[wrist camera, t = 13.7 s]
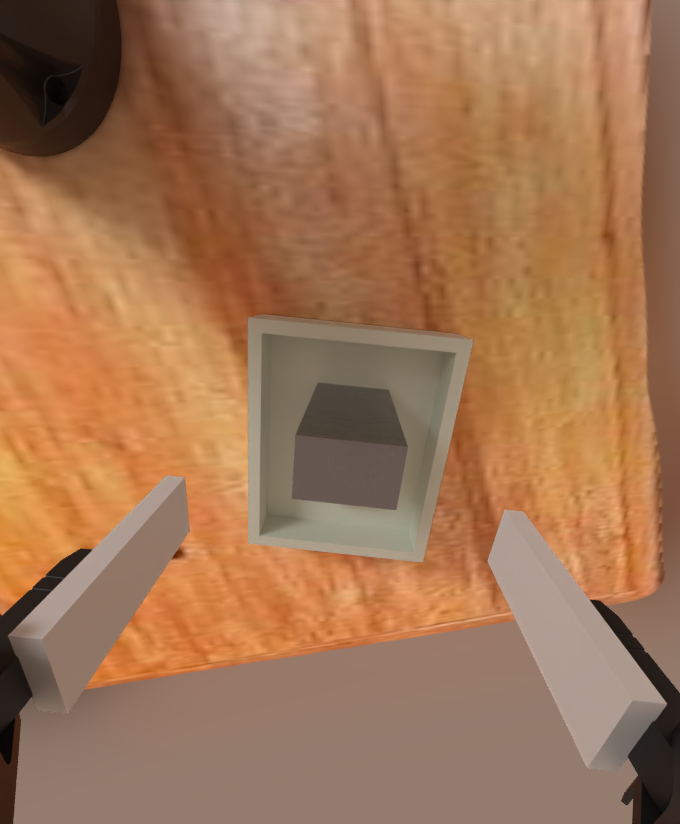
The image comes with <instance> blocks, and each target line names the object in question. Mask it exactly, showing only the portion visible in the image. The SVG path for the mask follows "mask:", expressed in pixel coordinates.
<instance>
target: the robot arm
mask: <svg viewBox="0 0 680 824" xmlns="http://www.w3.org/2000/svg"><path fill="white" fill-rule="evenodd" d="M120 60H121V34H120V23H119V15H118V9H117V4H116V0H0V148H3V149H5V150H8V151H11V152H14V153H18V154H23V155H29V156H48V155H55V154H59V153H62V152H65V151H68V150H70V149H72V148H74V147H75V146H77V145H79V144H80V143H82V142H83V141H84V140H85V139H87V138H88V137H89V136H90V135H91V134H92V133H93V132H94V131H95V129H96V128H97V127H98V126H99V124H100V123H101V121H102V120H103V118H104V116H105V115H106V113H107V111H108V109H109V107H110V104H111V102H112V99H113V96H114V93H115V90H116V85H117V81H118V76H119V70H120ZM189 531H190V528H189V517H188V506H187V495H186V483H185V477H177V476H167V475H166V476H165V477H164V478H163V479H162V480H161V481H160V482H159V483H158V484H157V485H156V486H155V487H154V488H153V489H152V490H151V491H150V492H149V493H148V494H147V495H146V497H145V498H144V499H143V500H142V501H141V502H140V503H139V504H138V505H137V506H136V507H135V508H134V509H133V510H132V511H131V512H130V513H129V514H128V515H127V516H126V517H125V518H124V519H123V520H122V521H121V522H120V523H119V524H118V525H117V526H116V527H115V528H114V529H113V530H112V531H111V532H110V533H109V534H108V535H107V536H106V537H105V538H104V539H103V540H102V541H101V542H100V543H99V544H98V545H97V546H96V547H95V548H94V549H93V550H91V549H79V550H78V551H76V552H74V553H73V554H71V555H69V556H68V557H66V558H64V559H63V560H61V561H60V562H59V563H58V564H57V565H56V566H55V567H54V568H53V569H52V570H51V571H49V572H48V573H47V574H46V577H45V578H42V579H41V580H40V581H39V582H38V583H37V584H36V585H35V586H33V589H32V590H29V591H28V592H27V593H26V594H25V595H24V596H23V597H22V598H21V599H20V600H19V601H17V602H16V603H15V604H14V605H13V606H12V607H11V608H10V609H9V610H8V611H7V612H6V613H5V614H4V615H3V616H2V617H0V824H13V817H14V804H15V792H16V779H17V766H18V752H19V740H20V727H21V719H20V715H19V712H20V711H21V710H22V708H23V707H24V706H25V704H26V703H27V702H28V701H29V699H30V698H31V697H32V698H33V701H34V703H35V706H36V709H37V710H38V711H46V712H54V713H65V714H68V712H69V711H70V709H71V708H72V706H73V705H74V703H75V702H76V700H77V699H78V697H79V696H80V694H81V693H82V691H83V690H84V688H85V687H86V685H87V684H88V682H89V681H90V679H91V678H92V676H93V675H94V673H95V672H96V670H97V669H98V667H99V666H100V665H101V663H102V662H103V660H104V659H105V657H106V656H107V654H108V653H109V651H110V650H111V648H112V647H113V645H114V644H115V642H116V641H117V639H118V638H119V636H120V635H121V633H122V632H123V630H124V629H125V627H126V626H127V624H128V623H129V621H130V620H131V618H132V617H133V615H134V614H135V612H136V611H137V609H138V608H139V606H140V605H141V603H142V602H143V600H144V599H145V597H146V596H147V594H148V593H149V591H150V590H151V588H152V587H153V585H154V584H155V582H156V581H157V579H158V578H159V576H160V575H161V573H162V572H163V570H164V569H165V567H166V566H167V564H168V563H169V561H170V560H171V558H172V557H173V555H174V554H175V552H176V551H177V549H178V548H179V546H180V545H181V543H182V542H183V540H184V539H185V537H186V536H187V534H188V533H189ZM487 562H488V564H489V566H490V568H491V570H492V572H493V574H494V576H495V578H496V580H497V582H498V584H499V586H500V588H501V590H502V593H503V595H504V597H505V599H506V601H507V603H508V605H509V607H510V609H511V611H512V613H513V615H514V617H515V619H516V621H517V624H518V626H519V628H520V630H521V632H522V634H523V636H524V638H525V640H526V642H527V644H528V646H529V648H530V650H531V652H532V655H533V657H534V659H535V660H536V663H537V665H538V667H539V669H540V671H541V673H542V675H543V677H544V679H545V681H546V683H547V685H548V688H549V690H550V692H551V694H552V696H553V698H554V700H555V702H556V704H557V706H558V708H559V710H560V712H561V715H562V717H563V718H564V721H565V723H566V725H567V727H568V729H569V731H570V733H571V735H572V737H573V739H574V741H575V743H576V746H577V748H578V749H579V752H580V754H581V756H582V758H583V760H584V762H585V764H586V766H587V768H591V769H601V770H610V771H618V770H619V769H620V768H621V767H622V765H623V764H624V762H625V761H626V760H627V758H629V760H630V762H631V763H632V765H633V767H634V768H635V770H636V772H637V773H638V776H637V777H636V779H635V780H634V781H633V783H632V784H631V785H630V786H629V788H628V789H627V790H626V792H625V793H624V795H623V798H622V800H621V801H622V802H623V803H624V804H625V805H628V804H629V802H630V801H631V800H632V799H633V819H632V824H680V693H679V692H678V690H677V689H676V688H675V687H674V685H673V684H672V683H671V682H670V680H669V679H668V678H667V677H666V675H665V674H664V673H663V672H662V670H661V669H660V668H659V667H658V665H657V664H656V663H655V662H654V660H653V659H652V658H651V657H650V655H649V654H648V653H646V652H645V651H644V648H643V647H642V645H641V644H640V643H639V642H638V640H637V639H636V638H634V637H633V636H632V633H631V631H630V630H629V629H628V628H627V627H626V625H625V624H624V623H623V621H622V620H621V619H620V618H619V616H617V615H616V614H615V613H614V612H613V611H612V610H610V609H609V608H608V607H607V606H606V605H604V604H603V603H602V602H601V601H598V600H589V599H588V597H587V596H586V595H585V593H584V592H583V591H582V589H581V588H580V587H579V585H578V584H577V583H576V581H575V580H574V579H573V577H572V576H571V575H570V573H569V572H568V571H567V569H566V568H565V567H564V565H563V564H562V563H561V561H560V560H559V559H558V557H557V556H556V555H555V553H554V552H553V551H552V549H551V548H550V547H549V545H548V544H547V543H546V541H545V540H544V539H543V537H542V536H541V535H540V533H539V532H538V531H537V529H536V528H535V527H534V525H533V524H532V523H531V521H530V520H529V519H528V517H527V516H526V515H525V513H524V512H522V511H512V510H504V513H503V516H502V519H501V522H500V525H499V528H498V531H497V534H496V537H495V540H494V543H493V546H492V549H491V552H490V555H489V558H488V561H487Z"/></svg>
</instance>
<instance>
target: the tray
mask: <svg viewBox="0 0 680 824" xmlns="http://www.w3.org/2000/svg"><path fill="white" fill-rule="evenodd" d="M473 341H474V340H472V339H470V338H467V337H465V336H462V335H460V334H456V333H446V332H436V331H426V330H416V329H407V328H397V327H387V326H377V325H367V324H357V323H347V322H337V321H327V320H317V319H307V318H297V317H287V316H277V315H267V314H261V315H256V316H252V317H248V544H257V545H266V546H276V547H285V548H294V549H303V550H312V551H321V552H331V553H340V554H349V555H358V556H367V557H377V558H386V559H395V560H404V561H413V562H423V560H424V556H425V551H426V547H427V542H428V538H429V534H430V529H431V525H432V521H433V516H434V512H435V507H436V503H437V499H438V494H439V490H440V486H441V481H442V477H443V472H444V468H445V464H446V459H447V455H448V451H449V446H450V442H451V437H452V433H453V429H454V424H455V420H456V415H457V411H458V407H459V402H460V398H461V394H462V389H463V385H464V380H465V376H466V372H467V367H468V363H469V359H470V354H471V350H472V345H473ZM317 383H328V384H338V385H347V386H357V387H366V388H376V389H385V390H389V392H390V395H391V398H392V401H393V404H394V407H395V410H396V413H397V416H398V419H399V422H400V425H401V428H402V431H403V434H404V437H405V439H406V442H407V445H408V450H407V456H406V461H405V466H404V472H403V477H402V483H401V488H400V494H399V499H398V505H397V510H389V509H380V508H371V507H362V506H352V505H343V504H334V503H325V502H316V501H307V500H297V499H292V485H293V466H294V448H295V434H296V432H297V430H298V427H299V425H300V423H301V420H302V418H303V416H304V413H305V411H306V409H307V407H308V404H309V402H310V400H311V397H312V395H313V393H314V390H315V388H316V386H317Z"/></svg>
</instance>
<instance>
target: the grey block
mask: <svg viewBox="0 0 680 824" xmlns="http://www.w3.org/2000/svg"><path fill="white" fill-rule="evenodd" d="M407 450H408V445H407V442H406V439H405V437H404V434H403V431H402V428H401V425H400V422H399V419H398V416H397V413H396V410H395V407H394V404H393V401H392V398H391V395H390V392H389V390H385V389H376V388H366V387H357V386H347V385H338V384H328V383H317V386H316V388H315V390H314V393H313V395H312V397H311V400H310V402H309V404H308V407H307V409H306V411H305V413H304V416H303V418H302V420H301V423H300V425H299V427H298V430H297V432H296V434H295V448H294V466H293V485H292V499H297V500H307V501H316V502H325V503H334V504H343V505H352V506H362V507H371V508H380V509H389V510H397V505H398V499H399V494H400V488H401V483H402V477H403V472H404V466H405V461H406V456H407Z"/></svg>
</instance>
